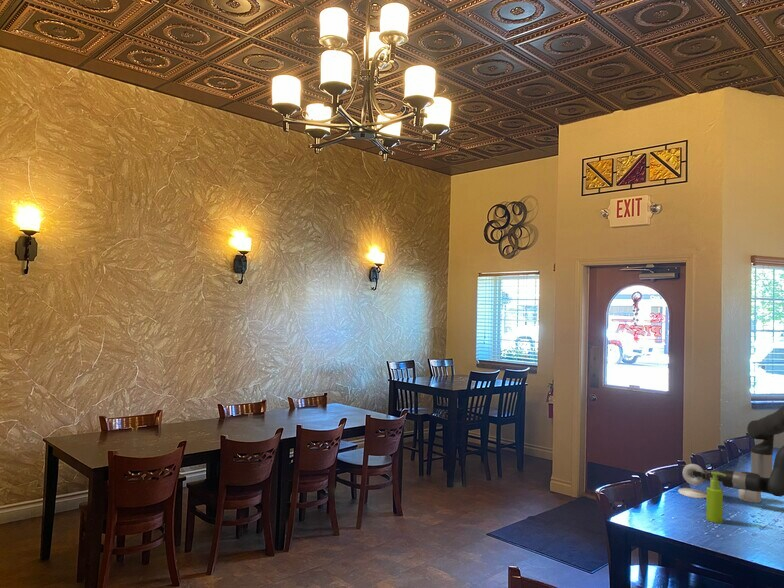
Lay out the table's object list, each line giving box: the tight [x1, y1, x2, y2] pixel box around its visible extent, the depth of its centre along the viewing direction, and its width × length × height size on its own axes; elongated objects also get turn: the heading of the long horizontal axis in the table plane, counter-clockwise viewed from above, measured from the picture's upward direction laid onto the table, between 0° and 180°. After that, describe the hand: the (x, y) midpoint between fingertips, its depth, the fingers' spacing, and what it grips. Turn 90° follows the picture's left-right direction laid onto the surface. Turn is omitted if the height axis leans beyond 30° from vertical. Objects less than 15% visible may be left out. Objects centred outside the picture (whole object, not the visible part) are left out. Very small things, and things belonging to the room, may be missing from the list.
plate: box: [677, 487, 707, 500], centre depth 273 cm, size 13×13×1 cm
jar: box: [738, 471, 762, 504], centre depth 267 cm, size 9×8×12 cm
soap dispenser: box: [705, 472, 726, 524], centre depth 237 cm, size 6×7×20 cm
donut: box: [682, 463, 706, 486], centre depth 273 cm, size 10×4×10 cm, turn 49°
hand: (694, 472), depth 273 cm, fingers closed on donut, 3 cm apart
